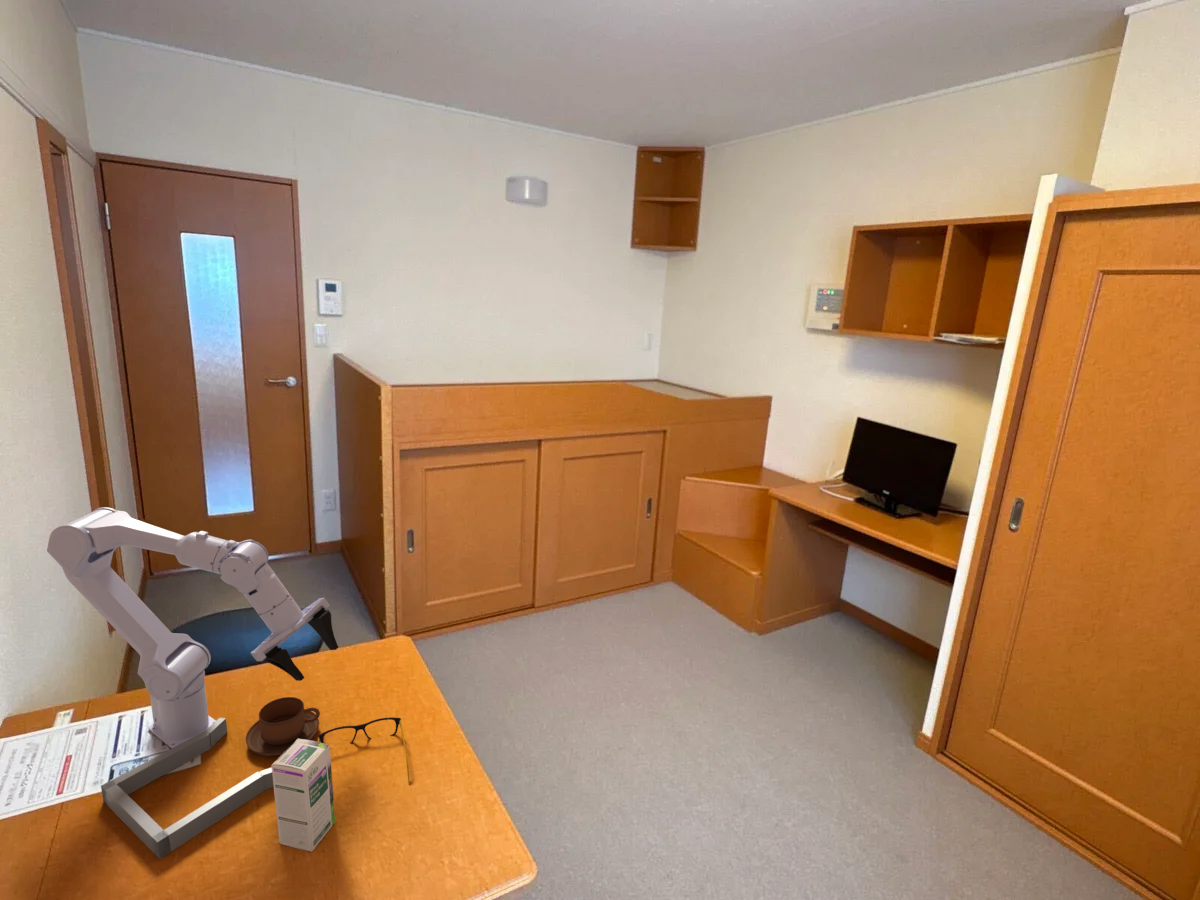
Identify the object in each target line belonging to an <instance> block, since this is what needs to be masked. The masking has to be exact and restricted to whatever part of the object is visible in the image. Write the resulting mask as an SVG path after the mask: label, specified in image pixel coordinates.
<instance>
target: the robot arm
mask: <svg viewBox="0 0 1200 900" xmlns="http://www.w3.org/2000/svg"><path fill="white" fill-rule="evenodd" d="M123 546H127V547H128V546H129V547H133V548H139V549H143V550H148V551H153V552H158V553H163V554H168V555H173V556H175V559H177V562H178V563H179V564H180V565H183V566H187V567H191V568H195V569H198V570H199V569H200V570H201V571H202V570H203V571H206V572H210V573H214V574H218V575H220V577H219V578H220V579H221V580H222V582H224V583H225V584H228V585H229V586H231V587H235V588H236V590H237V591H238V592H239V593H241V594H243V596H244V597H245V598H246V600H247V601H248V602H249V604H250V605H251V606H252V608H253V609H254V610H255V611H256V613H257V614H258V616H259V617H260V618H261V619H262V621H263V622H264V624H265V626H267V628H268V630H269V631H271V634H269V636H267V637H266V638H265V639H264V640H263V641H262V642H261V643H260V644H259V645H258V646H257V647H256V648H255V649H253V650H252V651H251V652H250V654H251V656H252V657H253V658H254V659H255V661H256V662H266V663H269V664H270V665H273V666H274V667H277V668H279V670H282V671H284V672H285V673H286V674H288V675H289V676H290V677H292V678H293V679H294V680H295V681H296V682H299V681H300V682H301V681H303V680H304V679H305V676H304V675H303V673H302V672H301V670H300V668H298V667H297V665H296V664H295V663H294V661H293V659H292V658H291V656H290V654H289V652H288V649H285V648H282V647H279V646H281V645H282V644H283V643H284V642H286V641H287V640H289V638H290V637H292V636H294V634H296V632H298V631H299V630H300V629H302V628H303V627H304V626H305V625H306V624H308V625H309V626H310V627H311V628H312V629H313V630H314V631H315V632H316V633H317V634H318V635H319V637H320V638H321V640H322V641H323V642H324V644H325V646H326V648H328V649H329V650H330V651H336V650H337V649H339V646H338V645H339V644H338V643H337V640H336V637H335V635H334V630H333V626H332V624H333V622H332V613H331V611H330V609H327V608H329V607H330V604H329V602H328V601H327V599H326V598H325V597H319V598H318V599H316V600H315V601H313V602H312V603H311V604H309V605H308V606H306V607H305V608H304V609H301V608H300V606H299V605H298V603H297V602H296V601H295V599H294V598H293V597H292V595H291V594H290V593H289V591H288V590H287V589H286V587H285V585H284V584H283V583H282V582H281V580H280V579H279V577H278V576H277V574H276V572H275V571H274V570H273V569H272V567H271V566H270V565H269V563H268V561H269V552H268V550H267V549H266V546H264V545H263V544H261V543H260V542H258V541H255V540H254V539H246V540H242V541H239V542H238V541H235V540H233V539H230V540H227V539H223V538H220V537H216V536H212V535H209V532H208V531H205V530H200V531H193V532H190V533H188V534H186V535H183V534H180V533H177V532H174V531H172V530H168V529H165V528H162V527H160V526H156V525H155V524H154V525H153V524H150V523H147V522H145V521H142V520H139V519H135V518H133V517H131V516H130V515H129V513H128V512H127V511H123V510H117V509H115V508H112V507H107V506H106V507H105V506H104V507H103V506H102V507H98V508H96V509H94V510H93V511H91V512H90V513H88V514H86V515H82V516H81V517H79V518H77V519H74V520H72V521H71V522H70V521H69V522H68V523H66V524H62V525H59V526H57V527H55V528H54V529H53V530H52V531H51V533H50V535H49V538H48V543H47V549H46V552H47V553H48V555H50V557H52V558H53V559H54V560H55V561H56V562H57V564H59V565H60V567H61V568H62V570H63V573H64V575H65V577H66V579H67V580H68V581H69V582H70V584H71V585H72V586H73V587H74V588H75V589H77V591H78V592H79V593H80V594H81V595H82V596H83V597H84V598H85V600H86V601H87V602H89V603H90V605H92V607H94V609H95V610H96V611H97V612H98V613H99V614H100V615H101V617H103V618H104V619H105V620H106V621H107V622H108V623H109V624H110V625H111V627H113V629H114V630H115V631H116V632H117V633H118V634H119V635H120V636H121V637H122V638H123V639H124V640H125V641H126V642H127V644H129V645H130V647H132V648H133V649H134V651H135V652H136V653H137V654H138V655H139V656H140V659H139V663H138V666H137V668H138V669H137V675H138V676H139V677H140V678H141V679H142V681H143V682H144V686H145V689H146V691H147V692H148V693H149V695H150V696H149V698H150V700H149V701H150V705H151V706H150V707H151V712H152V719H153V720H152V722H153V723H151V724H150V725H149V726H148V727H147V729H148V731H150V732H151V733H152V734H153V735H155V736H156V738H158V739H159V740H161V741H162V743H164V744H165V745H167V746H168V747H169V748H170V749H172V748H173V747H175V746H177V745H179V744H181V743H183V742H185V741H187V740H189V739H191V738H192V737H194V736H196V735H198V734H200V733H202V732H204V731H206V730H207V729H208V728H209V727H210V726H211V725H212V724H213V723H214V722H215V721H217V719H214V718H213V717H212V716H210V715H209V709H208V699H207V693H206V692H207V691H206V682H205V676H206V672H205V670H206V669H207V668H208V667H209V665H210V662H211V660H212V659H211V658H212V656H211V653H210V651H209V649H208V648H207V647H206V646H205V645H203V644H202V643H200V642H198V641H196V640H194V639H192V638H191V636H190V635H189V634H186V633H177V632H176V633H173V632H172V631H170V630H169V628H168V627H167V626H166V625H165V624H164V623H163V622H162V620H160V619H159V617H158V616H157V615H156V614H155V613H154V612H153V611H152V610H151V609H150V608H149V607H148V605H146V604H145V602H143V600H141V598H140V597H139V596H138V595H137V594H136V593H135V592H134V591H133V590H132V588H130V586H129V585H128V584H127V583H126V582H125V581H124V579H122V578H121V577H120V575H118V574H117V572H116V571H115V570H114V569H113V568H112V567H111V565H112V560H113V555H114V552H115V551H116V550H117V548H120V547H123Z"/></svg>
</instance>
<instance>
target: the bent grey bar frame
mask: <svg viewBox="0 0 1200 900" xmlns="http://www.w3.org/2000/svg"><path fill="white" fill-rule="evenodd" d="M227 733H228V725H227V718H225V717H219V718H217V719H216V721H215V722H214V723H213V724H212V725H211V726H210V727H209V728H208V729H207V730H206V731H204V732H202V733H200V734H198V735H196V736H194V737H192V738H191V739H189V740H187V741H185V742H183V743H181V744H179V745H177V746H175V747H173V748H170V749H168V750H166V751H164V752H162V753H161V754H159V755H156V756H154V757H152V758H151V759H149V760H147V761H145V762H143V763H141V764H140V765H137V766H135V767H134V768H132V769H131V770H128V771H126V772H124V773H123V774H121V775H119V776H117V777H115V778H113V779H111V780H109V781H107V782H105V783H104V784H102V785H100V789H101V790H100V791H101V795H102V801H103V803H104V804H105V805H106V806H107V807H108V808H109V809H110V810H111V811H112V812H113V813H114V814H115V815H116V816H117V817H118V818H119V819H120V820H121V821H122V823H124V825H126V826H127V827H128V828H129V829H130V830H131V832H133V834H135V836H136V837H137V838H139V840H140V841H141V842H142V843H143V844H144V845H145V846H146V847H147V848H148V849H149V850H150V851H151V852H152V853H153V854H154V855H155V856H156V858H158V859H159V860H161V859H162V858H164V857H165V856H167V855H168V854H170V853H171V852H173V851H174V850H176V849H177V848H179V847H180V846H183V845H184V844H185V843H186V842H188V841H190V840H192V839H193V838H194V837H196V836H197V835H199V834H200V833H202V832H203V831H206V829H208V828H210V827H211V826H213V825H214V824H216V823H218V822H219V821H220V820H222V819H223V818H225V817H226V816H229V814H231V813H232V812H234V811H235V810H237V809H239V808H240V807H242V806H243V805H245V804H246V803H248V802H249V801H251V800H252V799H254V798H255V797H257V796H259V795H260V794H261V793H263V792H264V791H267V790H269V789H274V785H273V775H272V766H271V767H268V768H266V769H263V770H260V771H256V772H254V773H253V774H251V775H250V776H248V777H246V778H244V779H243V780H242V781H240V782H239V783H236V785H234V786H232V787H231V788H229V789H228V790H225V791H224V792H222V793H221V794H219V795H217V796H216V797H215V798H212V799H211V800H210V801H208V802H206V803H205V804H203V805H201V806H200V807H198V808H196V809H195V810H193V811H192V812H190V813H189V814H187V815H186V816H184V817H183V818H181V819H179V820H177V821H175V822H174V823H172V824H171V825H170V826H168V827H166V828H165V829H163V828H162V827H161V826H160V825H159V824H158V823H157V821H155V820H154V819H153V818H152V817H151V816H150V814H148V813H147V812H146V811H145V810H144V809H143V808H142V807H141V806H139V804H137V803H136V801H134V800H133V798H132V797H130V796H129V795H130V794H132V793H134V792H135V791H137V790H139V789H141V788H143V787H145V786H146V785H148V784H150V783H151V782H153V781H156V780H157V779H159V778H160V777H161V778H162V777H163V776H164V775H166V774H168V773H169V772H171V771H173V770H175V769H177V768H179V767H180V766H182V765H184V764H186V763H188V762H190V761H191V760H193V759H195V758H197V757H199V756H201V755H202V754H204V753H206V752H207V751H210V750H211V749H212V748H213V747H214V746H215V745H216V744H217V743H218V742H219V741H220V740H221V739H222V738H223V737H224V736H225V735H226V734H227Z"/></svg>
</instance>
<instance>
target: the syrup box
mask: <svg viewBox="0 0 1200 900" xmlns="http://www.w3.org/2000/svg"><path fill="white" fill-rule="evenodd" d="M330 748H331V746H330V745H329V744H327V743H321V742H318V741H315V740H312V739H311V740H305V739H299V738H298V739H297V740H296V741H295V742H294V744H293V745H292V746H290V747H289V748H288V749H287V750H286V751H285V752H284V753H283V754H281V755H279V757H278V758H277V759H276V760H275V761H274V762H273V763H272V764H271V767H272V775H273V785H274V787H273V794H274V803H275V812H276V813H275V814H276V822H277V824H276V825H277V833H278V841H279V844H281V845H284V846H287V847H289V848H290V847H291V848H295V849H297V850H302V851H306V852H311V853H312V852H314V850H315V848H316V847H317V846H318V845H319V843H320V842H321V841H322V840H323V838H324V837H325V836H326V834H327V833H328V832H329V831H330V830H331V828H332V827H333V825H334V824H335V823H336V812H335V801H334V785H333V772H332V760H331V759H332V757H331V749H330Z"/></svg>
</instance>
